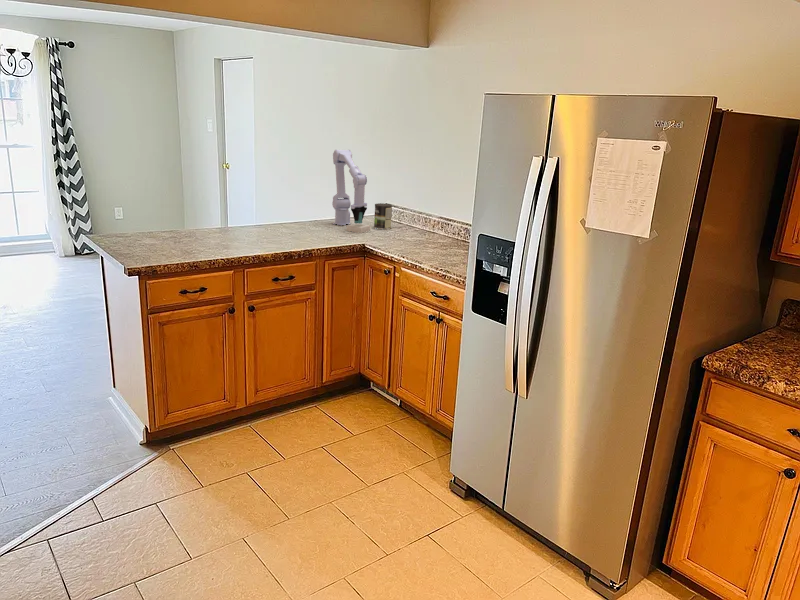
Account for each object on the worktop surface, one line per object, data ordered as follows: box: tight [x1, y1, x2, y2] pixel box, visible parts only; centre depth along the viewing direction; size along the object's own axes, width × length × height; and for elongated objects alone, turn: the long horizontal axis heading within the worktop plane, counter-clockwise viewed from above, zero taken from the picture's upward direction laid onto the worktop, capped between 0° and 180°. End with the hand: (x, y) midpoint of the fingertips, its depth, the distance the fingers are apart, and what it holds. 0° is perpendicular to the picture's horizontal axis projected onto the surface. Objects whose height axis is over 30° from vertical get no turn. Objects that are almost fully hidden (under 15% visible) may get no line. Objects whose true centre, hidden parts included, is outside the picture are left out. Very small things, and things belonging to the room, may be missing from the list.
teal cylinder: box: [353, 212, 363, 224], centre depth 350 cm, size 4×4×6 cm
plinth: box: [345, 223, 371, 234], centre depth 352 cm, size 10×10×3 cm
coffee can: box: [373, 202, 393, 230], centre depth 363 cm, size 10×10×14 cm
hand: (358, 220), depth 351 cm, fingers closed on teal cylinder, 4 cm apart
